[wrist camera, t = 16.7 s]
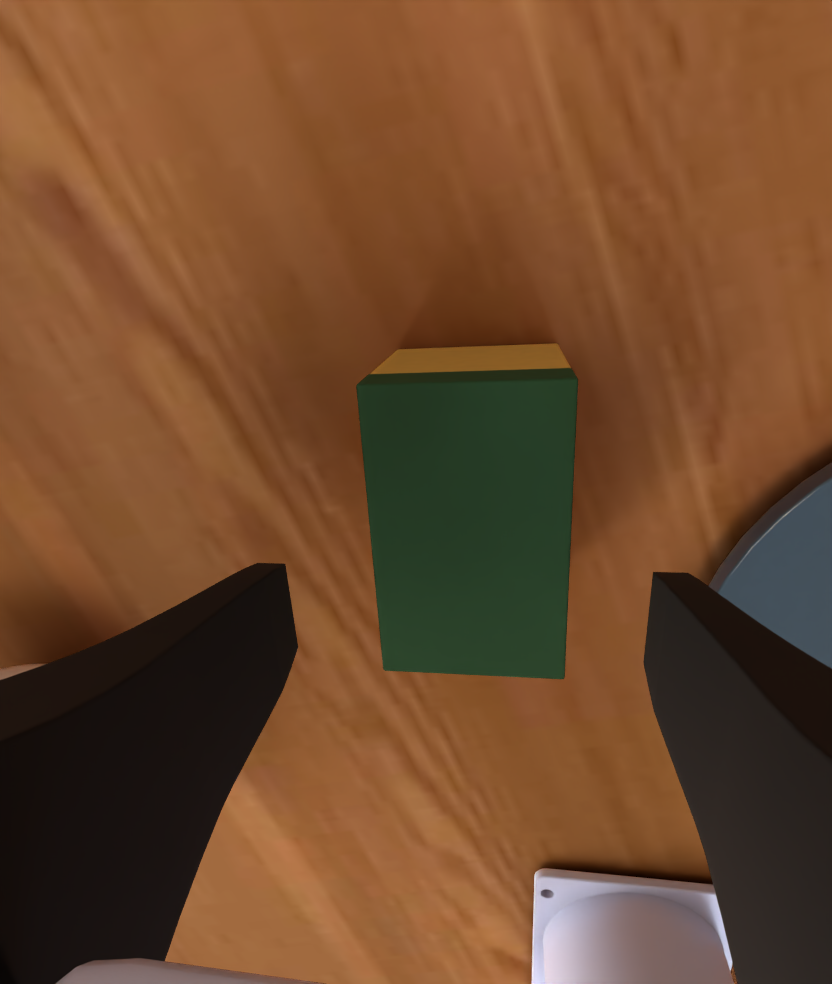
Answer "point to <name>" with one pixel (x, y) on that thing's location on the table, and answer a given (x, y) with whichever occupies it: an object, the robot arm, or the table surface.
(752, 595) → the plate
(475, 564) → the sponge
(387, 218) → the table surface
